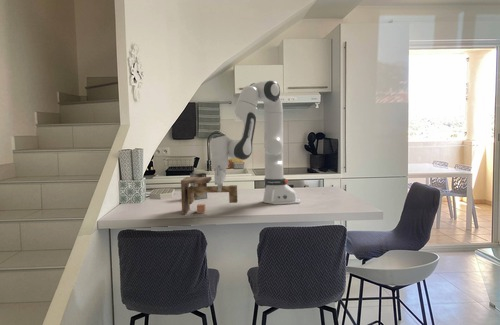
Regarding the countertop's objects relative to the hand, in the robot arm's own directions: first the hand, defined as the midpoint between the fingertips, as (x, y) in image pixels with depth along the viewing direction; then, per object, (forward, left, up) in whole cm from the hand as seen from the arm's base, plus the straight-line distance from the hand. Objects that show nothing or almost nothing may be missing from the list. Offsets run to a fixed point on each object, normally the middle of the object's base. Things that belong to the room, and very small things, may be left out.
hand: (220, 190), depth 215 cm
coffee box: (+18, -42, -12) cm, 47 cm away
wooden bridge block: (+4, 0, -6) cm, 7 cm away
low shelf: (+12, 0, -11) cm, 17 cm away
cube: (+10, 0, -12) cm, 16 cm away
